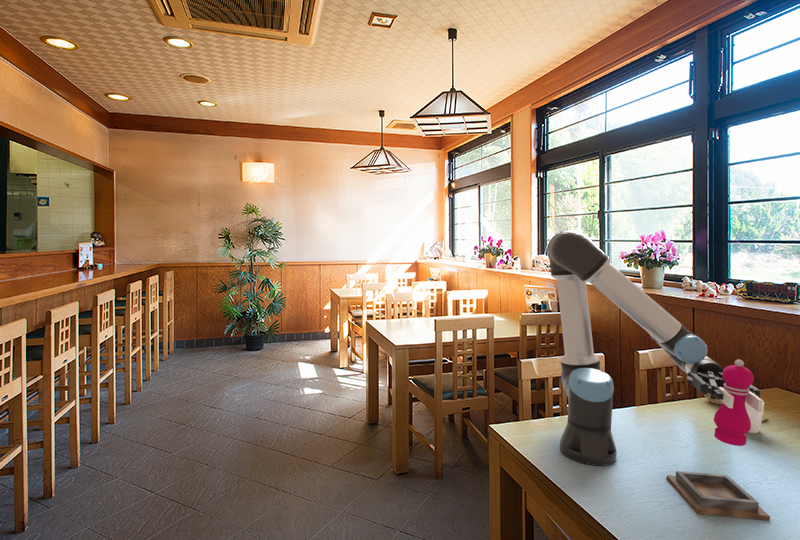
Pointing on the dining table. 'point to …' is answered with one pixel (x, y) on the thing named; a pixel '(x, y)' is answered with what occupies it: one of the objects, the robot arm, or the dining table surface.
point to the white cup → (754, 418)
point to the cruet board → (716, 495)
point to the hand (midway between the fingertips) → (745, 404)
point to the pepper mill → (734, 406)
